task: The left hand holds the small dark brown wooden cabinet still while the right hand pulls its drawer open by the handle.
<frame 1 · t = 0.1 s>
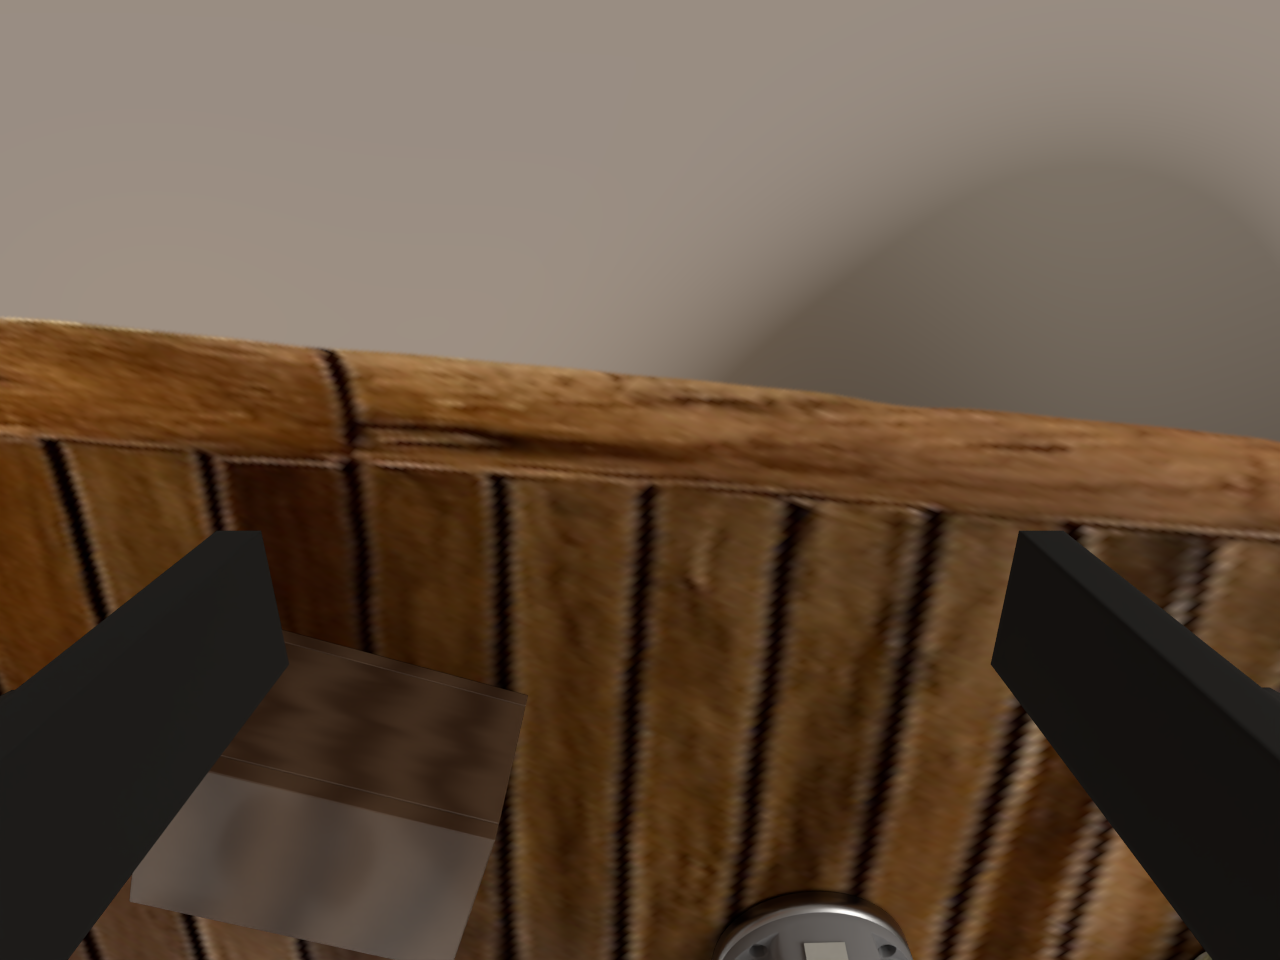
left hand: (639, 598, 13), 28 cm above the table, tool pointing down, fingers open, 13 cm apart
cabinet: (381, 721, 48), on the table
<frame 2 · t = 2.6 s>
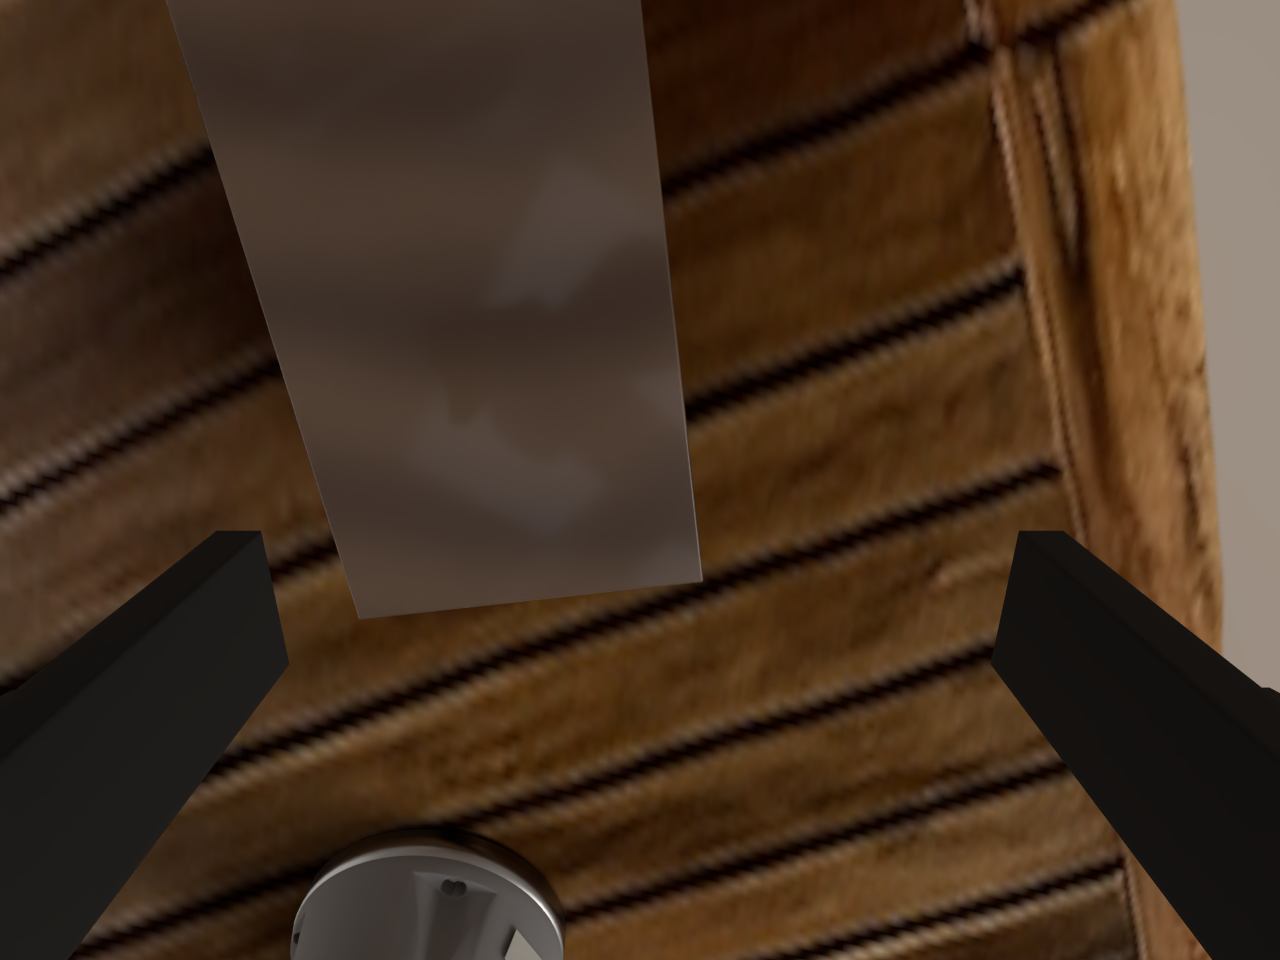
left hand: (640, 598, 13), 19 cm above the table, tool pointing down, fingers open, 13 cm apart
cabinet: (531, 263, 29), on the table
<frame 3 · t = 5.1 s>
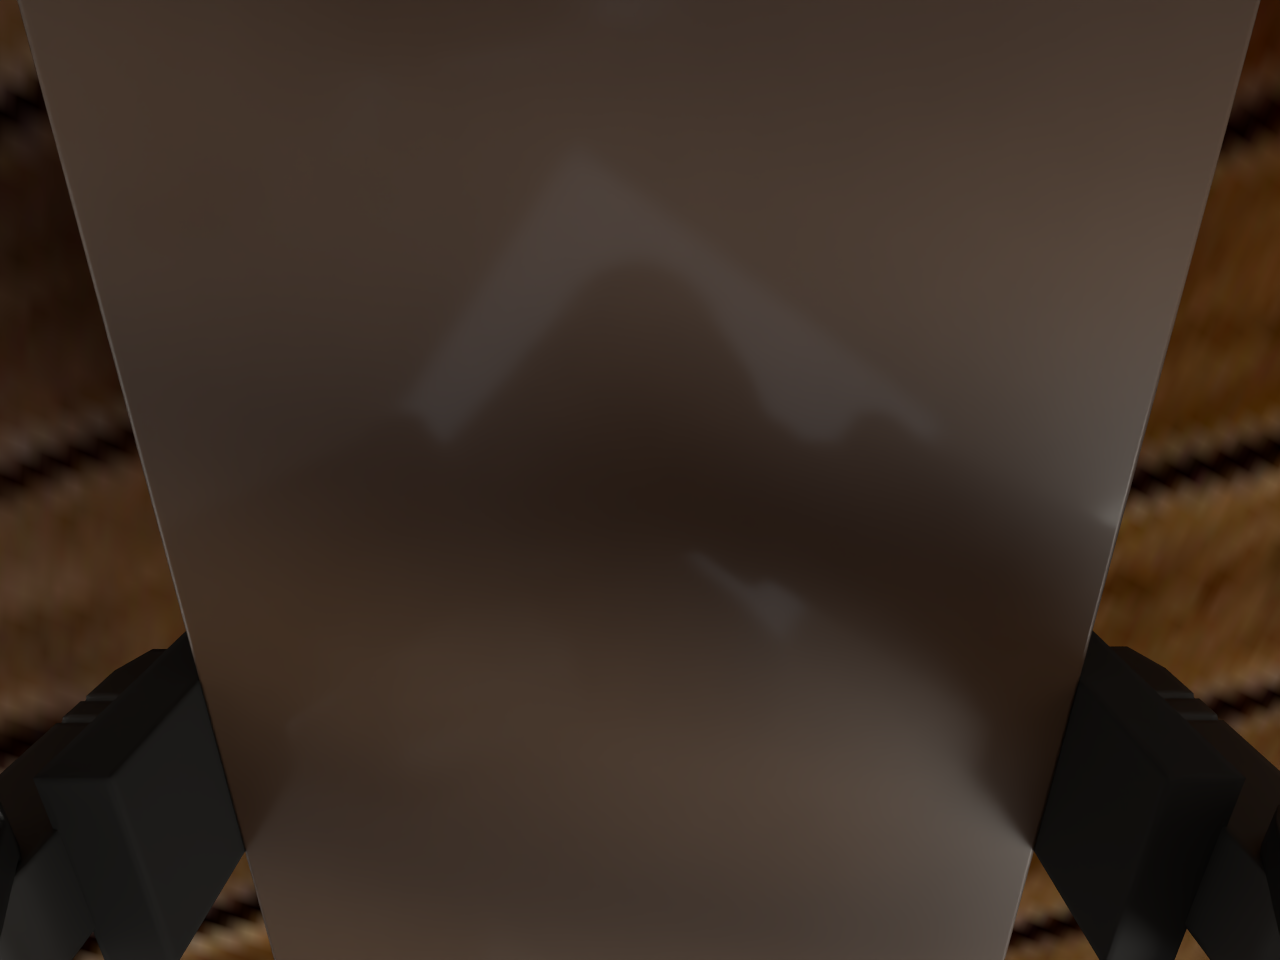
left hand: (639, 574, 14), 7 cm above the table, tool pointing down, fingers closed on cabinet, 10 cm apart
cabinet: (639, 307, 18), on the table, touching left hand
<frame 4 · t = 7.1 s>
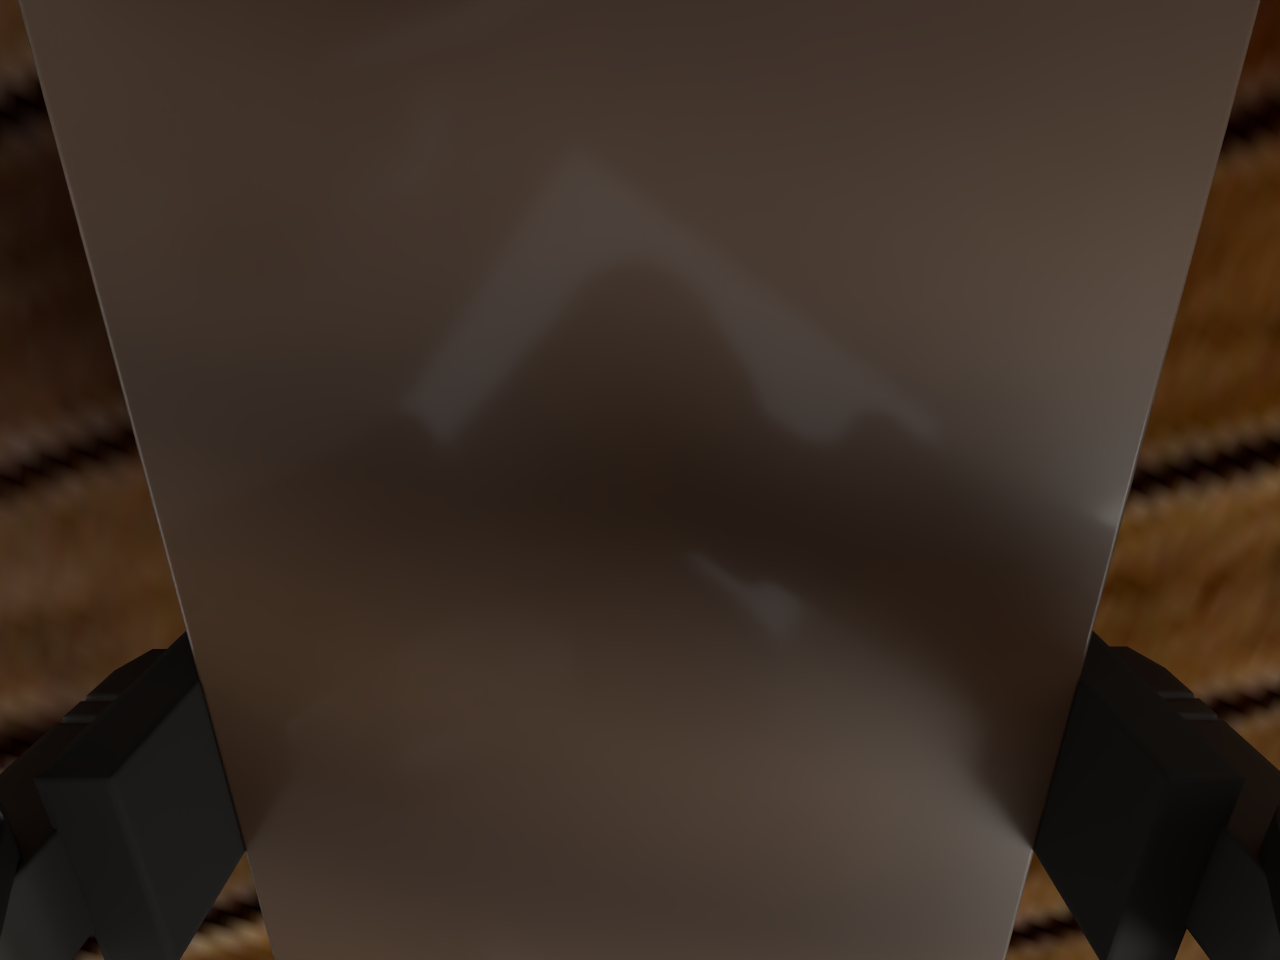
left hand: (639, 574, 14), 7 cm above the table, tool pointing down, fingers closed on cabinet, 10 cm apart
cabinet: (639, 307, 18), on the table, touching left hand
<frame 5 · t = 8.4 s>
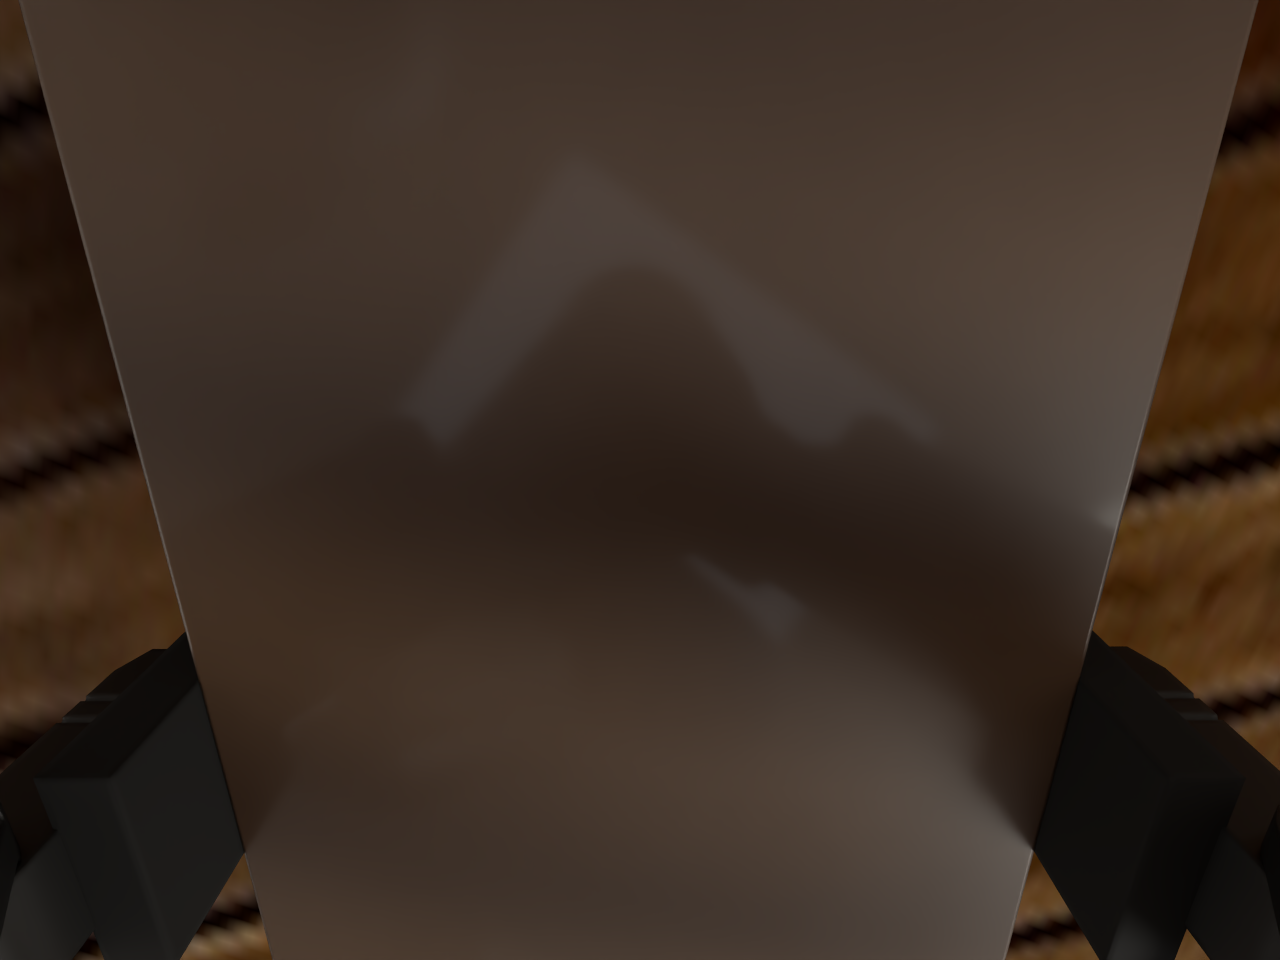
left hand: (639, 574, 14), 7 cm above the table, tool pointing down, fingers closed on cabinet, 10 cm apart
cabinet: (638, 308, 18), on the table, touching left hand
when the left hand's fingers open (7 cm above the table, at t = 10.0 s): cabinet stays where it is, on the table.
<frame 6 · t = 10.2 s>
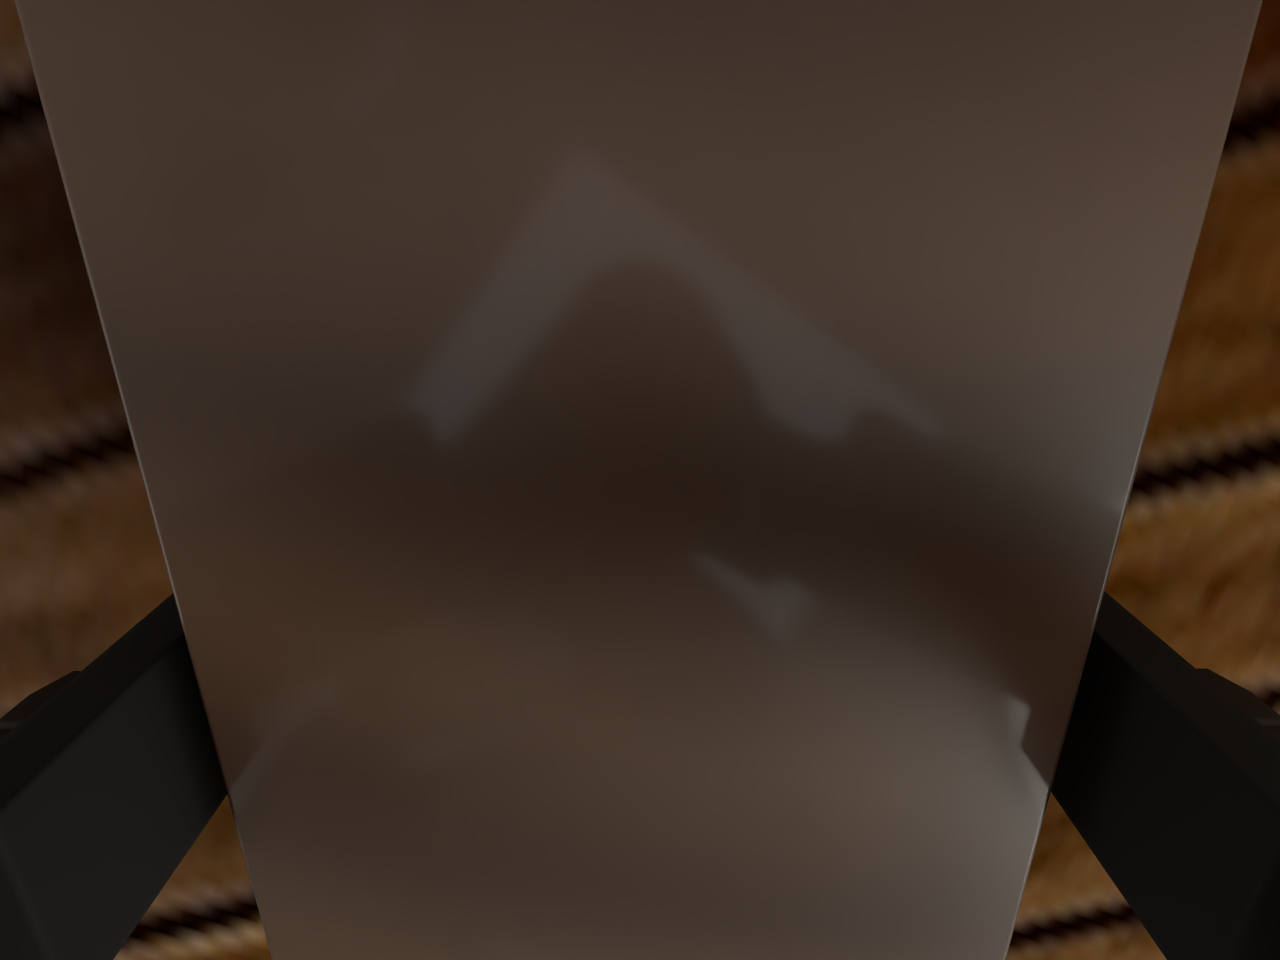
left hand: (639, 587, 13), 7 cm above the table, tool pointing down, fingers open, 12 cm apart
cabinet: (639, 300, 18), on the table
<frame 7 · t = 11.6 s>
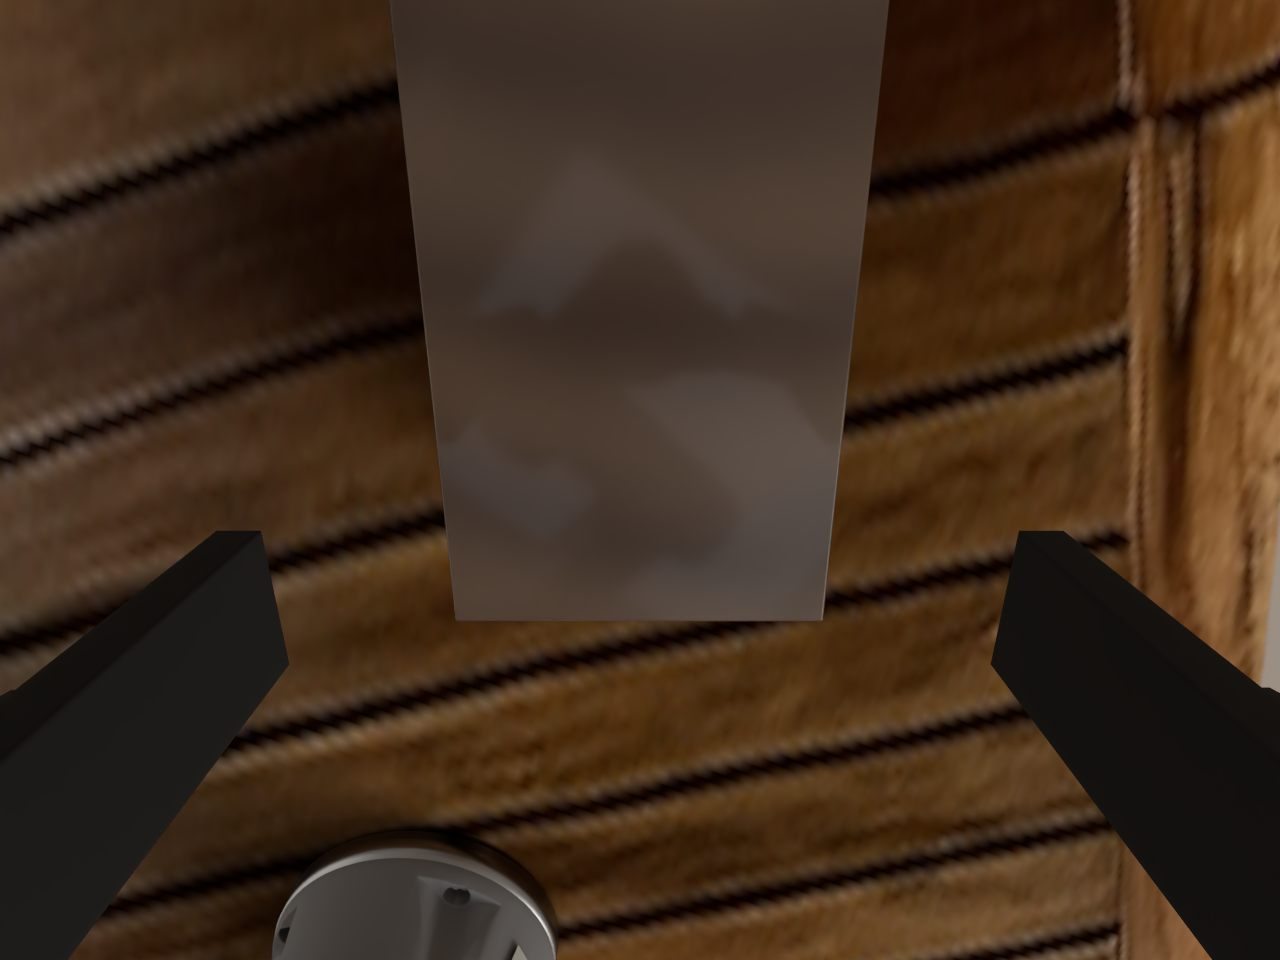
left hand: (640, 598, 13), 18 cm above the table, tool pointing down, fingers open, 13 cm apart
cabinet: (639, 264, 28), on the table
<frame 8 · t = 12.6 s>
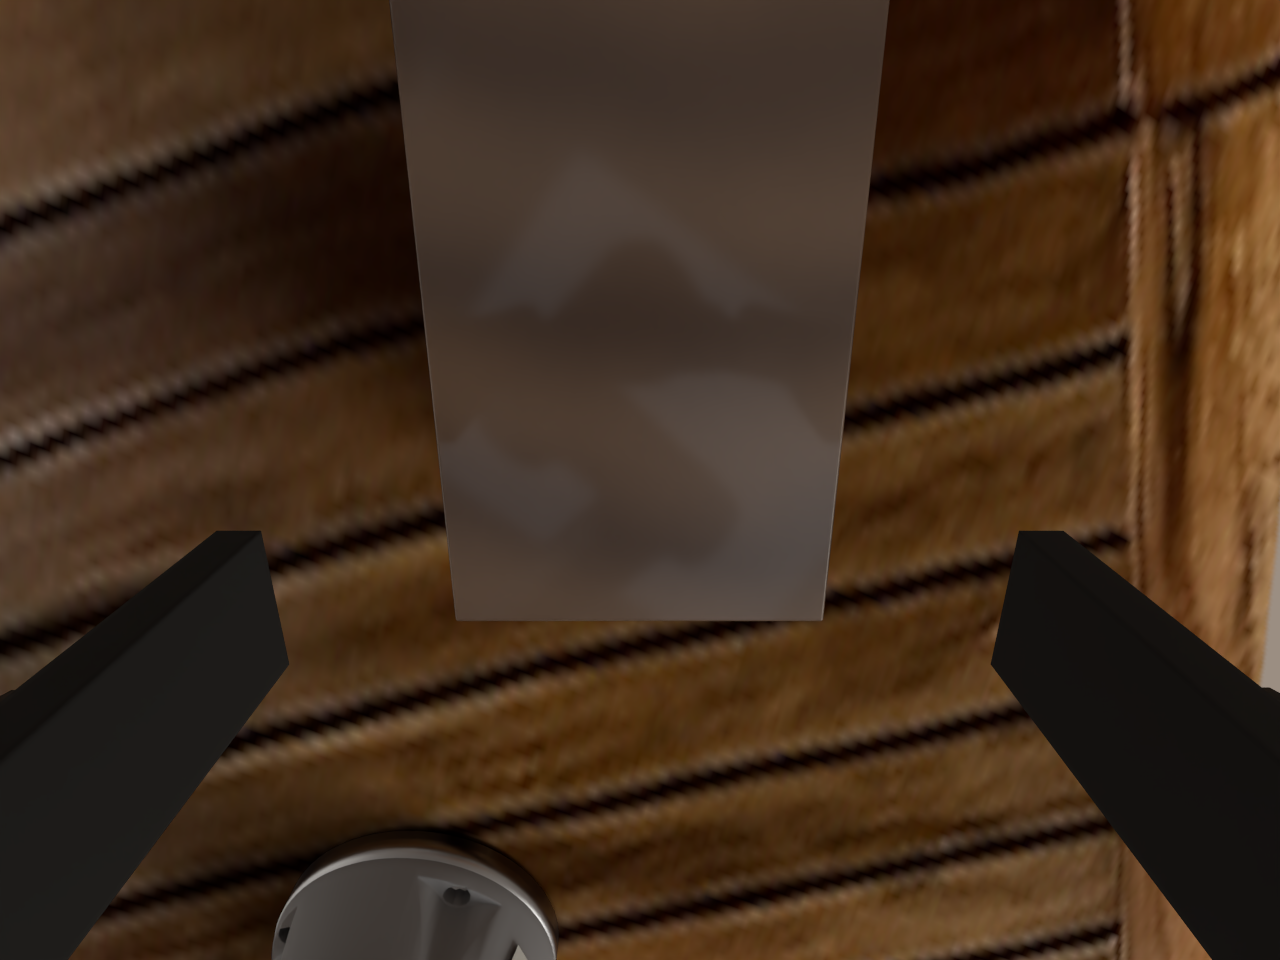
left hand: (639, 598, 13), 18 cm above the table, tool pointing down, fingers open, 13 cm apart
cabinet: (639, 264, 28), on the table
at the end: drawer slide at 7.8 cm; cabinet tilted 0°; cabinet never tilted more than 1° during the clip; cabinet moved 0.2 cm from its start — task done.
